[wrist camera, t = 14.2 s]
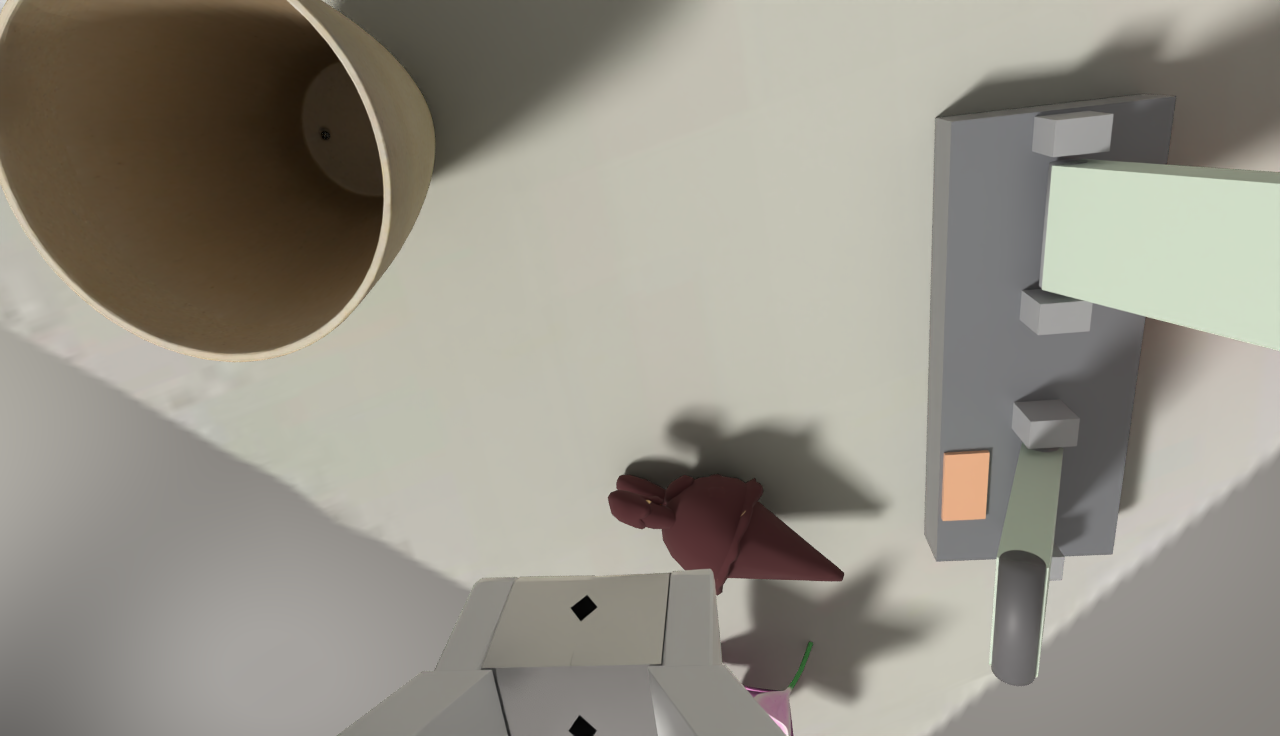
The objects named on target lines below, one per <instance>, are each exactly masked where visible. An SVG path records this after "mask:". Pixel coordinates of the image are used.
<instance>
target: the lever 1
mask: <svg viewBox="0 0 1280 736" xmlns="http://www.w3.org/2000/svg"><path fill="white" fill-rule="evenodd" d="M1063 449H1064V448H1061V447H1053V448H1036V449H1028V448H1027V447H1026V445H1025V444H1024V443H1022V444H1021V449H1020V453H1019V458H1018V463H1017V467H1016V472H1015V476H1014V481H1013V485H1012V490H1011V494H1010V499H1009V503H1008V508H1007V513H1006V517H1005V522H1004V526H1003V531H1002V535H1001V540H1000V544H999V549H998V553H997V559H996V573H995V587H994V602H993V616H992V630H991V644H990V659H989V665H991V669H992V672H993V673H994V675H995V676H996V677H997V678H998V679H1000V680H1001V681H1003V682H1005V683H1007V684H1010V685H1014V686H1025V685H1029V684H1030V683H1032V682H1033V681H1034V679H1035V677H1038V670H1039V662H1040V654H1041V645H1042V637H1043V629H1044V620H1045V612H1046V604H1047V595H1048V587H1049V578H1050V570H1051V562H1052V553H1053V545H1054V536H1055V526H1056V516H1057V507H1058V497H1059V487H1060V478H1061V468H1062V458H1063Z"/></svg>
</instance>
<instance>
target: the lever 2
mask: <svg viewBox="0 0 1280 736" xmlns="http://www.w3.org/2000/svg"><path fill="white" fill-rule="evenodd" d="M1039 286H1040V287H1041V288H1042V290H1045V291H1049V292H1053V293H1056V294H1060V295H1064V296H1068V297H1072V298H1076V299H1080V300H1084V301H1087V302H1091V303H1095V304H1099V305H1103V306H1107V307H1111V308H1115V309H1118V310H1122V311H1126V312H1130V313H1134V314H1138V315H1142V316H1146V317H1149V318H1153V319H1157V320H1161V321H1165V322H1169V323H1173V324H1177V325H1180V326H1184V327H1188V328H1192V329H1196V330H1200V331H1204V332H1208V333H1211V334H1215V335H1219V336H1223V337H1227V338H1231V339H1235V340H1239V341H1243V342H1246V343H1250V344H1254V345H1258V346H1262V347H1266V348H1270V349H1274V350H1277V351H1280V172H1269V171H1254V170H1239V169H1224V168H1209V167H1195V166H1180V165H1165V164H1150V163H1135V162H1121V161H1106V160H1091V159H1082V160H1059V161H1053V162H1050V163H1049V169H1048V181H1047V193H1046V205H1045V217H1044V230H1043V242H1042V254H1041V266H1040V278H1039Z"/></svg>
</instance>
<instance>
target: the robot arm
mask: <svg viewBox="0 0 1280 736" xmlns="http://www.w3.org/2000/svg"><path fill="white" fill-rule="evenodd" d="M337 736H787V735H786V734H785V733H784V732H783V731H782V730H781V729H780V727H779V726H778V725H777V724H776V723H775V722H774V721H773V719H772V718H771V717H770V716H769V715H768V714H767V712H766V711H765V710H764V709H763V708H762V707H761V706H760V704H759V703H758V702H757V701H756V700H755V699H754V698H753V696H752V695H751V694H750V693H749V692H748V691H747V689H746V688H745V687H744V686H743V685H742V684H741V683H740V681H739V680H738V679H737V678H736V677H735V676H734V675H733V673H732V672H731V671H730V670H729V669H728V668H727V667H726V665H722V654H721V642H720V631H719V620H718V610H717V599H716V589H715V579H714V574H713V571H712V570H711V569H699V570H684V571H673V572H672V573H654V574H631V575H607V576H595V575H590V576H526V577H519V578H517V577H497V578H482V579H480V580H479V581H477V582H476V583H475V584H474V586H473V588H472V590H471V592H470V594H469V596H468V599H467V601H466V603H465V605H464V607H463V609H462V612H461V614H460V616H459V618H458V620H457V622H456V625H455V627H454V629H453V631H452V633H451V635H450V638H449V640H448V642H447V644H446V646H445V648H444V650H443V653H442V655H441V657H440V659H439V662H438V663H437V665H436V668H435V670H434V671H423V672H421V673H420V674H418V675H417V676H415V677H414V678H413V679H411V680H410V681H409V682H407V683H406V684H405V685H403V686H402V687H401V688H399V689H398V690H397V691H396V692H394V693H393V694H391V695H390V696H389V697H387V698H386V699H385V700H384V701H382V702H381V703H380V704H378V705H377V706H376V707H374V708H373V709H372V710H370V711H369V712H368V713H366V714H365V715H364V716H362V717H361V718H360V719H358V720H357V721H356V722H354V723H353V724H352V725H350V726H349V727H348V728H346V729H345V730H344V731H342V732H341V733H340V734H338V735H337Z"/></svg>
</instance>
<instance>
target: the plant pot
mask: <svg viewBox="0 0 1280 736" xmlns="http://www.w3.org/2000/svg"><path fill="white" fill-rule="evenodd" d="M323 131H326V132H328V133H329V134H330V138H329V139H326V140H325V139H323V138H322V137H321V132H323ZM434 159H435V132H434V126H433V121H432V117H431V114H430V111H429V108H428V106H427V103H426V101H425V99H424V97H423V95H422V93H421V92H420V90H419V88H418V87H417V85H416V84H415V82H414V81H413V79H412V78H411V77H410V75H409V74H408V73H407V71H406V70H405V69H404V68H403V67H402V65H401V64H400V63H399V62H398V61H397V60H396V59H395V58H394V57H393V55H392V54H391V53H390V52H388V51H387V50H386V49H385V48H384V47H383V46H382V45H381V44H380V43H379V42H378V41H376V40H375V39H374V38H373V37H372V36H371V35H369V34H368V33H367V32H366V31H364V30H363V29H362V28H361V27H359V26H358V25H357V24H355V23H354V22H353V21H351V20H350V19H348V18H347V17H346V16H344V15H343V14H342V13H340V12H339V11H337V10H335V9H334V8H332V7H331V6H329V5H328V4H326V3H325V2H323V1H322V0H7V2H6V3H5V5H4V7H3V9H2V11H1V14H0V184H1V186H2V189H3V191H4V194H5V196H6V198H7V201H8V203H9V205H10V207H11V209H12V211H13V212H14V214H15V216H16V218H17V220H18V221H19V223H20V225H21V227H22V228H23V230H24V232H25V233H26V235H27V236H28V238H29V239H30V241H31V242H32V244H33V245H34V246H35V248H36V249H37V250H38V252H39V253H40V254H41V256H42V257H43V258H44V260H45V261H46V262H47V263H48V265H49V266H50V267H51V268H52V269H53V270H54V272H55V273H56V274H57V275H58V276H59V277H60V278H61V279H62V280H63V281H64V282H65V283H66V284H67V285H68V286H69V287H70V288H71V289H72V290H73V291H74V292H75V293H76V294H77V295H78V296H80V297H81V298H82V299H83V300H84V301H85V302H87V303H88V304H89V305H90V306H92V307H93V308H94V309H95V310H96V311H98V312H99V313H101V314H102V315H103V316H105V317H106V318H107V319H109V320H111V321H112V322H114V323H116V324H117V325H119V326H120V327H122V328H124V329H125V330H127V331H129V332H131V333H133V334H135V335H137V336H138V337H140V338H142V339H144V340H146V341H148V342H151V343H153V344H155V345H158V346H160V347H163V348H165V349H168V350H171V351H175V352H177V353H180V354H184V355H189V356H193V357H197V358H201V359H208V360H216V361H227V362H248V361H258V360H266V359H271V358H275V357H280V356H284V355H287V354H290V353H293V352H295V351H298V350H300V349H302V348H304V347H307V346H309V345H311V344H313V343H314V342H316V341H318V340H319V339H321V338H323V337H325V336H326V335H327V334H328V333H330V332H331V331H332V330H334V329H335V328H336V327H338V326H339V325H340V324H341V323H342V322H343V321H344V320H345V319H346V318H347V317H348V316H349V315H350V314H351V313H352V312H353V311H354V309H355V308H356V307H357V306H358V305H359V304H360V303H361V301H362V300H363V299H364V298H365V297H366V295H367V294H368V293H369V292H370V290H371V289H372V288H373V287H374V285H375V284H376V283H377V281H378V280H379V279H380V278H381V276H382V275H383V274H384V272H385V271H386V270H387V268H388V267H389V266H390V264H391V263H392V261H393V260H394V258H395V257H396V255H397V254H398V253H399V251H400V249H401V248H402V246H403V244H404V242H405V241H406V239H407V237H408V235H409V233H410V232H411V230H412V228H413V226H414V224H415V222H416V220H417V217H418V215H419V213H420V210H421V208H422V205H423V203H424V200H425V198H426V194H427V191H428V188H429V185H430V181H431V177H432V172H433V167H434Z"/></svg>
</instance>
